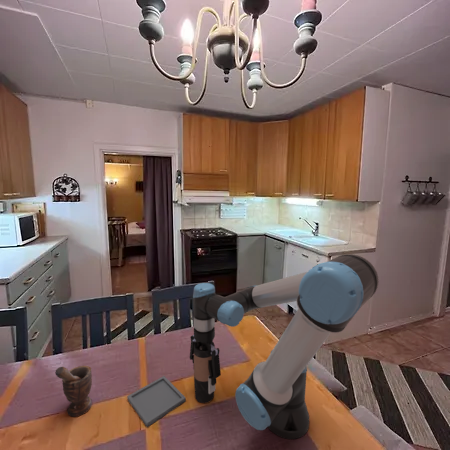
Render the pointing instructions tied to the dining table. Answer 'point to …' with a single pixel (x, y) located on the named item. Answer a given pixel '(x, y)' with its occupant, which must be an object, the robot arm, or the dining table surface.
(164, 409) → the slate tray
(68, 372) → the mortar and pestle
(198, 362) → the travel mug
